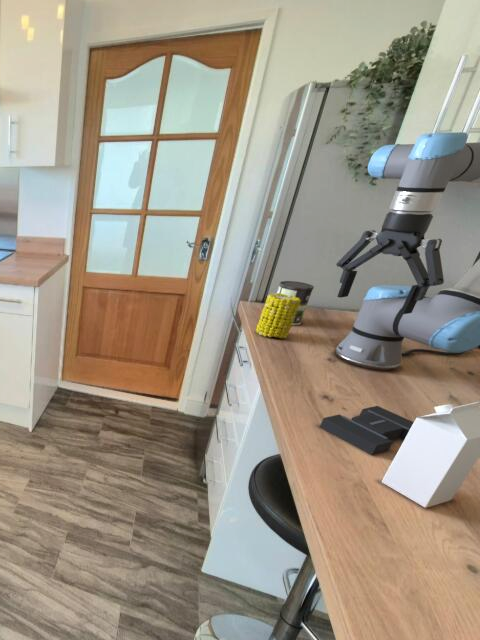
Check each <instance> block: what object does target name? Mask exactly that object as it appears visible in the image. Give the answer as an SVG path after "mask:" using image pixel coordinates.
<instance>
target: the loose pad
mask: <svg viewBox="0 0 480 640" xmlns="http://www.w3.org/2000/svg"><path fill="white" fill-rule="evenodd" d="M350 419H351V420H353V421H355V422H357V423H359V424H361V425H363V426H365V427H367V428H369V429H371V430H373V431H375V432H377V433H379V434H381V435H383V436H385V437H387V438H388V439H390V440H392V441H396V440H399V439H400V438H399V436H400V434H401V433H402V431H403V429H404V428H403V427H401V426H399V425H397V424H395V423H392V422H390V421H388V420H386V419H384V418H382V417H380V416H377V415H375V414H373V413H370V414H365V415H361V416H359V415H358V416H353V417H352V418H350Z"/></svg>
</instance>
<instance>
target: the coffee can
mask: <svg viewBox="0 0 480 640" xmlns="http://www.w3.org/2000/svg"><path fill="white" fill-rule="evenodd" d="M277 288H278V289H277V292H276V293H277V294H278V293H281V294H283V295H284V294H286V295H287V296H289V295H291V296H293V297H297V298H300V300H301V302H300V305H299V306H298V310H297V311H296V312H297V313H296V315H295V318H294V322H292V323H293V324H292V325H291V326H299V325H301V324H302V320H303V318H304V315H305V312H306V309H307V306H308V303H309V300H310V299H311V295H312V292H313V290H314V288H315V286H314V285H312V284H310V283H307V282H301V281H293V280H283V281H280V282H279V284H278V287H277Z"/></svg>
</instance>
